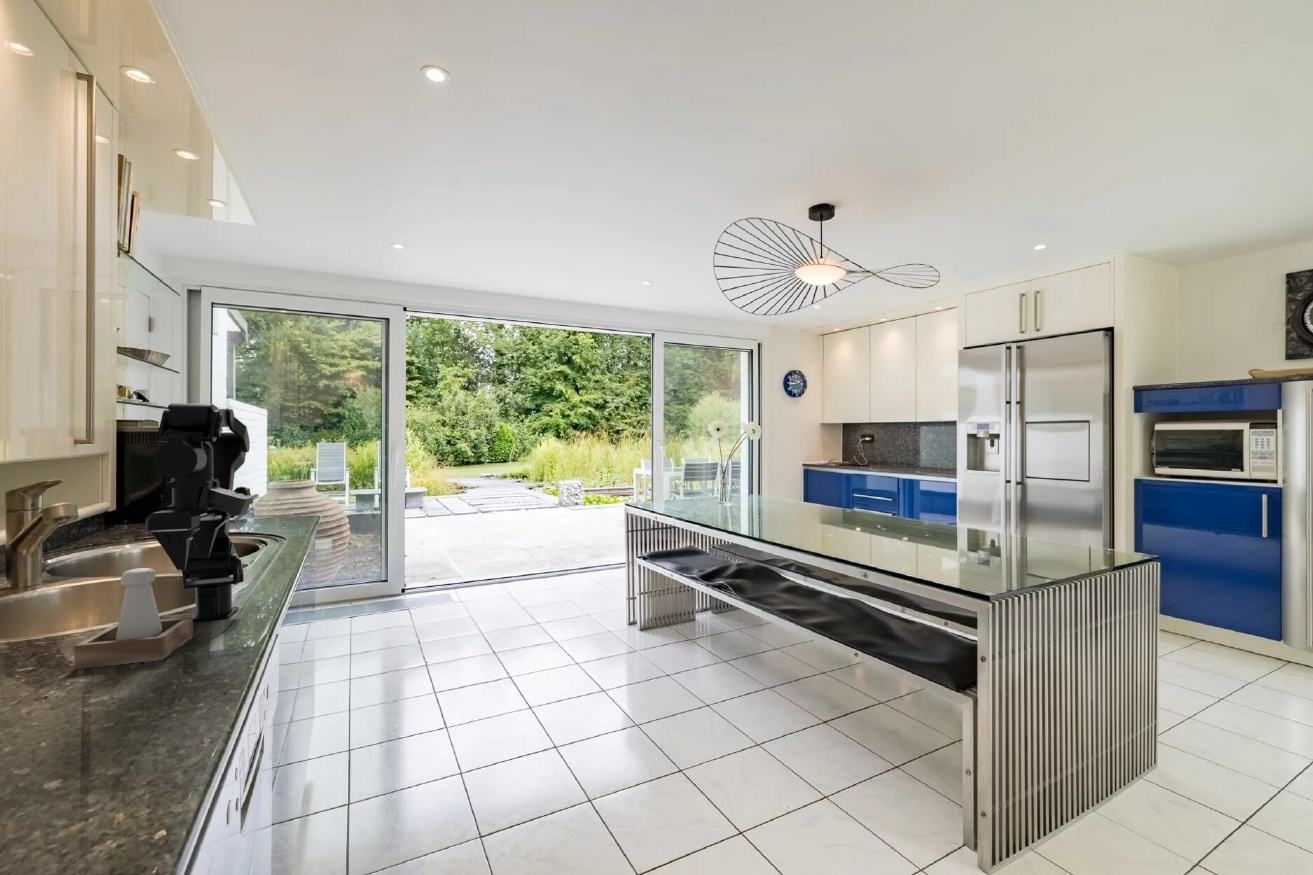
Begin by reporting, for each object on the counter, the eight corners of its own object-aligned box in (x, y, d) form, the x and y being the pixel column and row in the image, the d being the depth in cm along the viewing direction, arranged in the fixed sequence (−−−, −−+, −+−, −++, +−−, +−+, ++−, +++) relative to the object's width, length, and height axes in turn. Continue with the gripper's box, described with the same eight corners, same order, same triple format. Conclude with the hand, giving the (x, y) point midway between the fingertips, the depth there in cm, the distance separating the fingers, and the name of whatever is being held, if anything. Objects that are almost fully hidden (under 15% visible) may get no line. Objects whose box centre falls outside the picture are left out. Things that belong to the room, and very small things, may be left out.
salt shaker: (169, 645, 98) (168, 567, 98) (126, 657, 93) (125, 575, 93) (151, 639, 101) (150, 564, 100) (108, 651, 95) (107, 571, 95)
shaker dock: (115, 644, 100) (115, 623, 100) (192, 637, 103) (192, 617, 103) (74, 669, 90) (74, 645, 90) (162, 660, 93) (161, 637, 93)
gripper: (225, 476, 96) (226, 571, 96) (264, 471, 114) (264, 551, 114) (143, 478, 93) (143, 577, 93) (195, 472, 111) (196, 555, 111)
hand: (193, 563), depth 103 cm, fingers open, 9 cm apart
